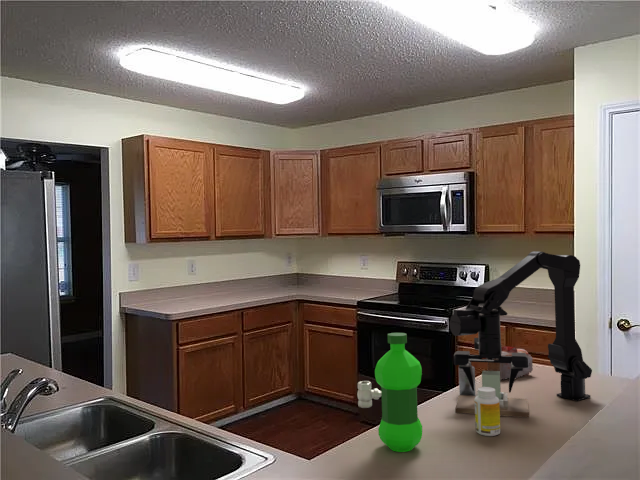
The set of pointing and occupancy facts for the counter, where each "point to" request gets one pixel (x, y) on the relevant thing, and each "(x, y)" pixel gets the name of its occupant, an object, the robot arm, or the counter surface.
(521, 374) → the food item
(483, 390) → the supplement bottle
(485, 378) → the square peg
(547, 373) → the counter surface
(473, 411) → the bore board
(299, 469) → the counter surface
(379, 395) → the valve
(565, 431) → the counter surface
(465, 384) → the round peg
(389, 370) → the plastic bottle
